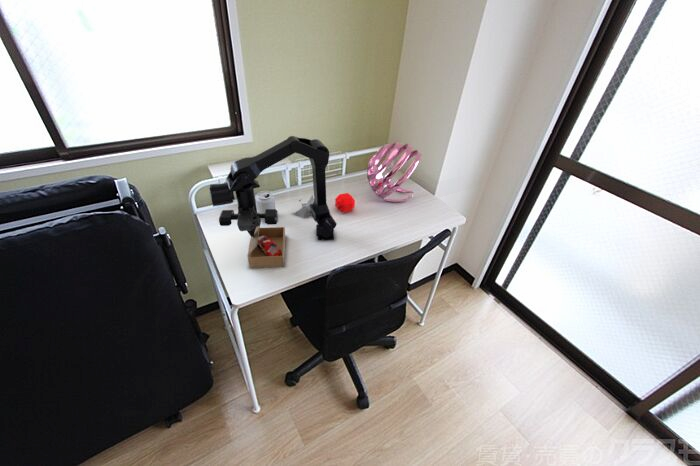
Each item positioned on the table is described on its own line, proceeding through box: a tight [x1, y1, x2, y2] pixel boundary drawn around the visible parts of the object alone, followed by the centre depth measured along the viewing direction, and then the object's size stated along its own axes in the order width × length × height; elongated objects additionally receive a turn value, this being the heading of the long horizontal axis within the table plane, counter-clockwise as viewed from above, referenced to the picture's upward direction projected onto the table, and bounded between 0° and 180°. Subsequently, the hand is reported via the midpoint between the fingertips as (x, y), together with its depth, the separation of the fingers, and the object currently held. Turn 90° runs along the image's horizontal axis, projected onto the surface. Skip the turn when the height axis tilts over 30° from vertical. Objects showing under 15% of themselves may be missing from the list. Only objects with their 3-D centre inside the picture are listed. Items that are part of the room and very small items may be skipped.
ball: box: [334, 192, 356, 214], centre depth 137 cm, size 8×8×8 cm
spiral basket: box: [366, 141, 422, 203], centre depth 145 cm, size 28×28×27 cm
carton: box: [247, 226, 286, 269], centre depth 113 cm, size 17×12×5 cm
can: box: [255, 190, 277, 223], centre depth 127 cm, size 8×8×12 cm
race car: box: [257, 235, 282, 256], centre depth 113 cm, size 13×5×4 cm, turn 39°
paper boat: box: [293, 194, 314, 218], centre depth 134 cm, size 12×6×9 cm
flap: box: [247, 225, 261, 257], centre depth 109 cm, size 17×6×1 cm
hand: (252, 236), depth 109 cm, fingers closed
